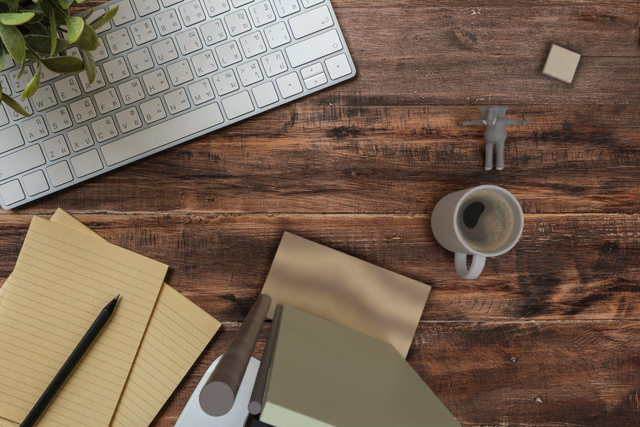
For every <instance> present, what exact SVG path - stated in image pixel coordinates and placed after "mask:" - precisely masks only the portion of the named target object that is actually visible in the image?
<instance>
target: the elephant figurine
mask: <svg viewBox="0 0 640 427" xmlns="http://www.w3.org/2000/svg"><path fill="white" fill-rule="evenodd" d="M509 108H510V107H509V106H507V105H498V104H492V105H489V106H483V105H481V106H479V107H478V108H477V110H478V111H479V113H480V117H481V118H477V119H474V120H469V119H467V120H463V121H459V122H458V123H459V125H460V124H462V126H477V127H478V126H479V127H480V126H481V127H484V128H485V130H484V132H483V139H484V141H485V146H484V148H485V150H484V151H485V160H484V170H485V171H490V170H493V168H494V167H493V166H494V165H493V159H494V146H495V151H496V152H495V154H496V155H495V156H496V157H495V158H496V159H495V160H496V161H495V162H496V164H495V167H496V170H497V171H501V170H503V169H505V158H504V157H505V156H504V155H505V154H504V153H505V152H504V151H505V142H506V140H507V138H508V132H507V128H506V127H512V126H525V125H528V124H530V125H531V124H533V123H534V121H533V120H527V119H523V120H516V119H512V118H507V117H506V116H505V115H506V112H507V110H509Z"/></svg>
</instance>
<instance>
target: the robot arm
mask: <svg viewBox="0 0 640 427" xmlns="http://www.w3.org/2000/svg"><path fill="white" fill-rule="evenodd" d="M262 404H263V403H262ZM261 409H262V408H261ZM260 414H261V411H260V412H259V413H258V414H255V415H254V414H251V413H250V412H249V411H248V412H247V415H246V416H245V419H244V421H243V425H242V427H276V426H273V425H270V424H268V423H265V422H262V421H260Z"/></svg>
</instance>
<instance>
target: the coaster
mask: <svg viewBox="0 0 640 427" xmlns="http://www.w3.org/2000/svg"><path fill="white" fill-rule="evenodd" d="M581 56H582V55H581V54H579V53H577V52H575V51H572V50H569V49H567V48H564V47H562V46H559V45H556V44H554V43H553V44H551V46H550V48H549V51H548V54H547V57H546V60H545V62H544V65H543V68H542V70H541V74H543V75H546V76H549V77H551V78H553V79H556V80H559V81H560V82H564V83H566V84H571V83H572V81H573V79H574V76H575V73H576V71H577V67H578V65H579V61H580V59H581Z"/></svg>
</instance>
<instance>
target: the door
mask: <svg viewBox="0 0 640 427" xmlns="http://www.w3.org/2000/svg"><path fill="white" fill-rule="evenodd" d="M281 309H282V311H281ZM280 314H281V315H280ZM279 319H280V320H279ZM250 393H251V394H250V397H249V401H248V404H247V411H248V412H250V413H251V414H254V415H255V414H258V413H259V412H260V411H261V414H260V421H262V422H265V423H268V424H270V425H273V426H276V427H463V425H462V424H461V423H460V422H459V421H458V419H457V418H456V417H455V416H454V415H453V414H452V412H451V411H450V410H449V409H448V408H447V406H445V404H444V403H443V402H442V401H441V400H440V398H439V397H437V395H436V394H435V393H434V391H433V390H432V389H431V388H430V386H428V384H427V383H426V382H425V381H424V379H422V378H421V376H420V374H418V373H417V372H416V370H414V368H413V367H412V366H411V365H410V363H409V362H408V361H407V360H406V359H404V358H403V356H402V355H401V354H400V353H399V352H398V351H397V349H396V348H395V347H394V346H393V345H392V344H390V343H387V342H384V341H382V340H379V339H376V338H374V337H371V336H368V335H366V334H363V333H360V332H358V331H355V330H352V329H350V328H347V327H344V326H342V325H339V324H336V323H334V322H331V321H328V320H325V319H323V318H320V317H317V316H315V315H312V314H309V313H307V312H304V311H301V310H299V309H296V308H293V307H291V306H288V305H285V304H284V305H283V308H282V305H281V304H277V305H276V309H275V312H274V316H273V319H271V323H270V326H269V330H268V334H267V337H266V341H265V343H264V347H263V351H262V354H261V358H260V362H259V365H258V368H257V372H256V376H255V379H254V382H253V386H252V389H251V392H250ZM262 403H263V404H262ZM261 408H262V409H261Z"/></svg>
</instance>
